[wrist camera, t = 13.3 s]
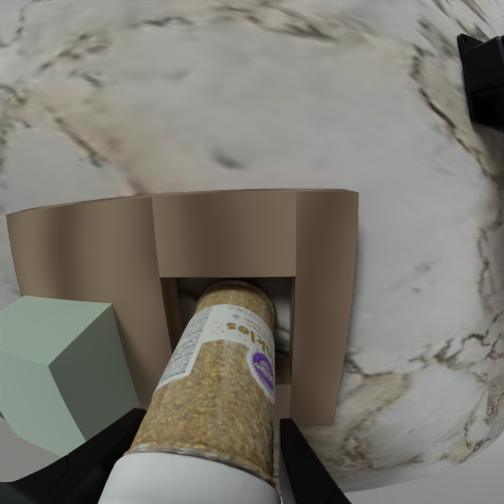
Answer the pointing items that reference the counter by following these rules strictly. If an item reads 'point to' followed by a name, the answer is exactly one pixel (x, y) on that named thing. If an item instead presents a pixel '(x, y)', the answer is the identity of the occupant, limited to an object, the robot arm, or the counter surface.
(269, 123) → the counter surface
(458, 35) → the robot arm
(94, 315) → the block
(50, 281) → the socket board
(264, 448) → the sprinkles bottle
